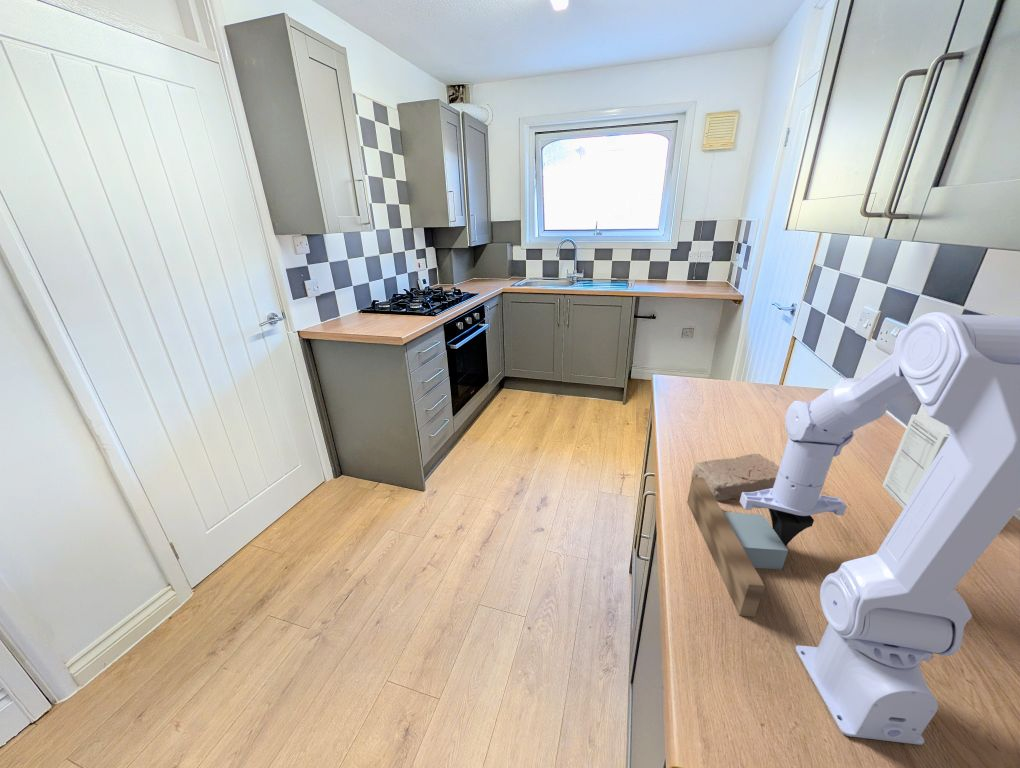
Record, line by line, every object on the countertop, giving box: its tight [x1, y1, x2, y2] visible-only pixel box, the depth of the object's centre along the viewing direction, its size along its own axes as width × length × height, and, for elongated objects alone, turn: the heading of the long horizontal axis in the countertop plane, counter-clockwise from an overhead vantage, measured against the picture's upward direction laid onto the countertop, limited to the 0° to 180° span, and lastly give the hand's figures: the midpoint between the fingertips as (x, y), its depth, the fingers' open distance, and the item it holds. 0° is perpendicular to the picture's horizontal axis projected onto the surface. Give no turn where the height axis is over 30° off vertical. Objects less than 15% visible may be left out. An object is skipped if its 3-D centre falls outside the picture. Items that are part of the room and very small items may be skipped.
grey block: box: [722, 511, 789, 570], centre depth 65 cm, size 8×8×4 cm
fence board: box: [686, 476, 765, 618], centre depth 64 cm, size 24×2×6 cm, turn 174°
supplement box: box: [881, 413, 950, 510], centre depth 72 cm, size 10×9×17 cm
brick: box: [691, 453, 780, 502], centre depth 81 cm, size 17×8×5 cm, turn 101°
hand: (778, 543), depth 65 cm, fingers closed
